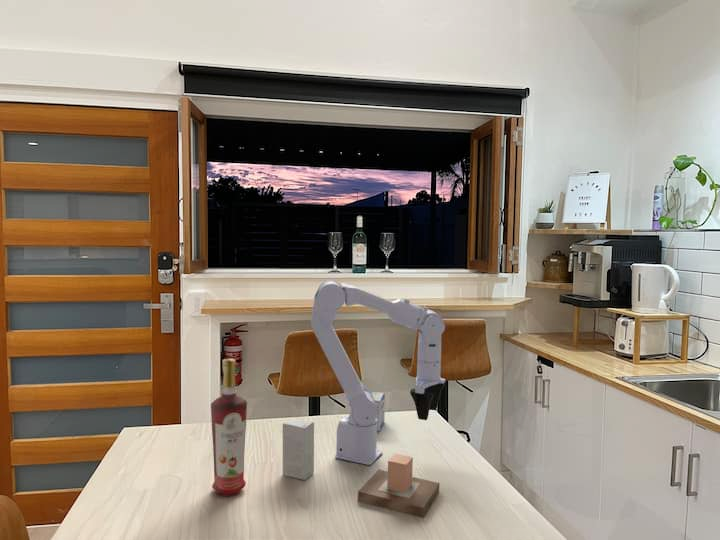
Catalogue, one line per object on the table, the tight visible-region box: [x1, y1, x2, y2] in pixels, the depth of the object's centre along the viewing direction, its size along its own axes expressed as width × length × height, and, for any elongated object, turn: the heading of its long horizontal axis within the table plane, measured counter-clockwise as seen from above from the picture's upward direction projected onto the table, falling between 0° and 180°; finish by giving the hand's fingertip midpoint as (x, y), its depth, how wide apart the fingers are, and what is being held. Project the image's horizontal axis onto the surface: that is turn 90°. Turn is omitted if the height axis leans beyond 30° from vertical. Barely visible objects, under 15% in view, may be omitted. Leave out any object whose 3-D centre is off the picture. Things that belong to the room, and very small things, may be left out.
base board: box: [357, 469, 440, 518], centre depth 109 cm, size 14×11×2 cm
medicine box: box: [369, 391, 386, 432], centre depth 148 cm, size 8×4×9 cm, turn 168°
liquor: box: [210, 358, 248, 497], centre depth 109 cm, size 7×7×28 cm
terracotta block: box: [387, 453, 414, 493], centre depth 108 cm, size 4×4×6 cm
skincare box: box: [282, 417, 315, 481], centre depth 117 cm, size 6×4×12 cm
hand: (427, 414), depth 128 cm, fingers open, 7 cm apart
